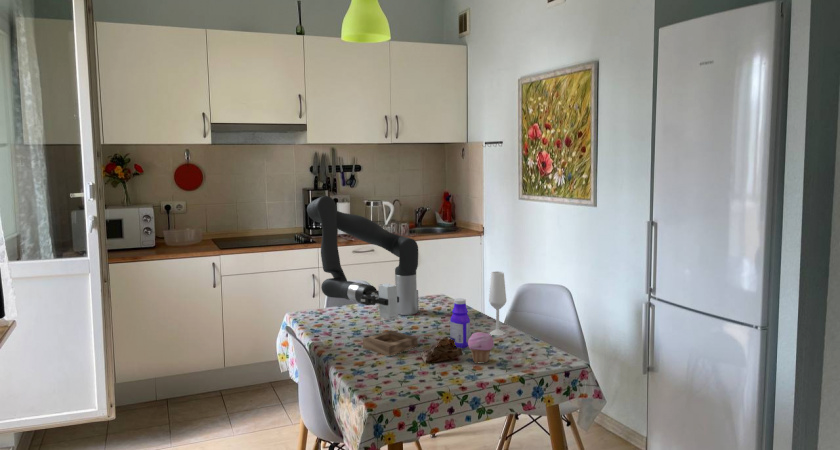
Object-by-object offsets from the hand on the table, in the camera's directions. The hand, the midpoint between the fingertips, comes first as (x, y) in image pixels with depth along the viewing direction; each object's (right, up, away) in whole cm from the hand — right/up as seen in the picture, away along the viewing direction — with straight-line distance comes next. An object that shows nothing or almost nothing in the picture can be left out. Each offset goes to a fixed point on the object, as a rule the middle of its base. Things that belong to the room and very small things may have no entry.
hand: (393, 301), depth 228 cm
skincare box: (-2, -7, +3) cm, 7 cm away
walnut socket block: (-1, -17, +4) cm, 18 cm away
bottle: (+24, -17, +4) cm, 30 cm away
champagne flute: (+40, -15, +19) cm, 46 cm away
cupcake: (+30, -19, -12) cm, 38 cm away
